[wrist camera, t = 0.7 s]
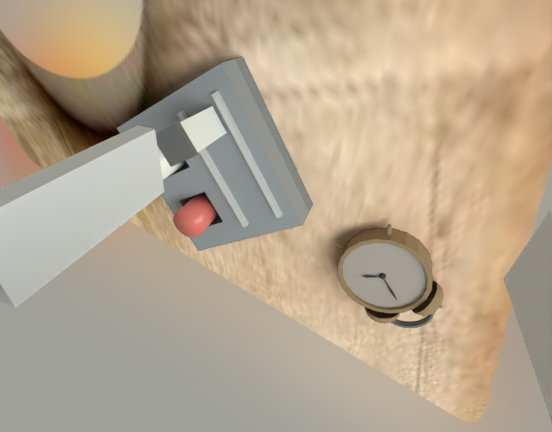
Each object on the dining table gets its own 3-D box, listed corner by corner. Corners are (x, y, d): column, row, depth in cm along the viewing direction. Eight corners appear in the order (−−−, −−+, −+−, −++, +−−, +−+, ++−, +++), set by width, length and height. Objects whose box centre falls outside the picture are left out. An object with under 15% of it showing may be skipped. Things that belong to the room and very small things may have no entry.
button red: (185, 199, 43) (167, 214, 40) (207, 190, 41) (190, 206, 38) (201, 223, 44) (185, 240, 41) (223, 216, 42) (208, 234, 39)
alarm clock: (404, 223, 36) (463, 333, 37) (408, 207, 40) (461, 307, 41) (320, 254, 42) (374, 347, 44) (331, 237, 46) (380, 323, 48)
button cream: (151, 144, 40) (128, 156, 37) (172, 133, 38) (151, 144, 35) (168, 172, 41) (149, 186, 38) (190, 163, 39) (171, 176, 36)
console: (143, 117, 43) (113, 129, 39) (242, 56, 35) (218, 63, 30) (215, 231, 50) (196, 253, 45) (312, 204, 41) (301, 228, 37)
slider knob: (190, 116, 35) (151, 136, 29) (212, 104, 33) (175, 123, 28) (206, 143, 36) (171, 167, 30) (228, 133, 34) (194, 156, 29)
